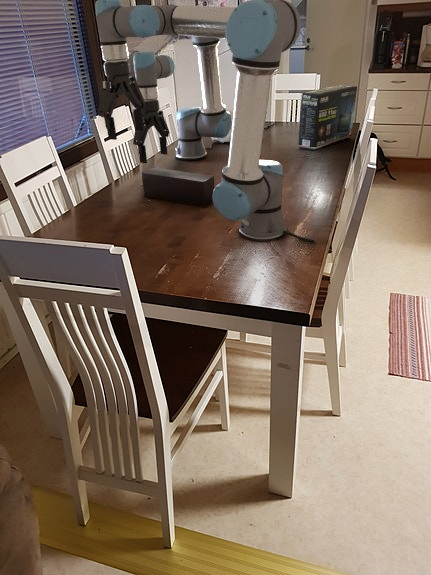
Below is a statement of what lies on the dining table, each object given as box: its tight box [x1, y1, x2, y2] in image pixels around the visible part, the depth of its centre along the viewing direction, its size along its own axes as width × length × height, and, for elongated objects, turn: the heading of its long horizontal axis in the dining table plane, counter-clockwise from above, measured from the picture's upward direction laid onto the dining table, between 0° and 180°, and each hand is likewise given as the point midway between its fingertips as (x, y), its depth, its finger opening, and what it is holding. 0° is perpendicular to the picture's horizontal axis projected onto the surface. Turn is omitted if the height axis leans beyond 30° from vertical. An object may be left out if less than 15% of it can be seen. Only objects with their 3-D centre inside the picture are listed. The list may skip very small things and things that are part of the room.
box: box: [141, 167, 215, 208], centre depth 177 cm, size 28×8×10 cm, turn 60°
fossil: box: [210, 127, 232, 143], centre depth 256 cm, size 18×11×15 cm
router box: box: [297, 84, 358, 151], centre depth 238 cm, size 36×11×27 cm, turn 134°
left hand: (154, 158), depth 177 cm, fingers open, 13 cm apart
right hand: (126, 134), depth 147 cm, fingers open, 13 cm apart
